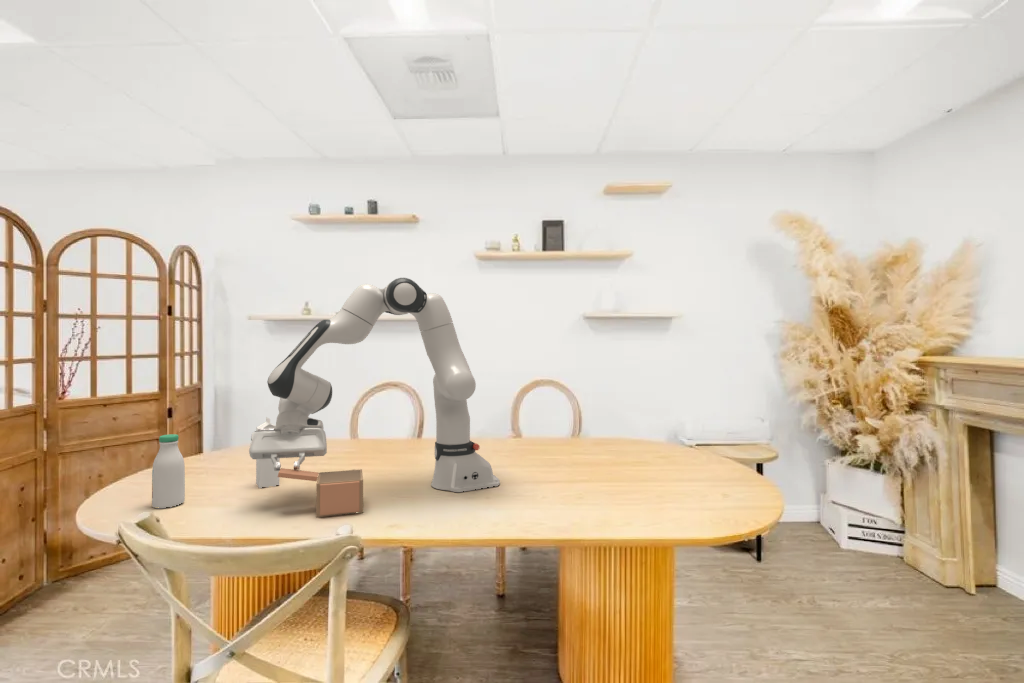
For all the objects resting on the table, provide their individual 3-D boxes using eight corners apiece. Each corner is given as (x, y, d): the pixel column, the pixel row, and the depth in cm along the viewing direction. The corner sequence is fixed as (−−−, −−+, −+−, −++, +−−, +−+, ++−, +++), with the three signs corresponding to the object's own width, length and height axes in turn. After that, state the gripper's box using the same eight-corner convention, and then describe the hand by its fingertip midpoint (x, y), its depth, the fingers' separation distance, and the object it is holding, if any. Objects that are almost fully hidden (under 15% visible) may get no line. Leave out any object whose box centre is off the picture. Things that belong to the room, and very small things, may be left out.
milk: (259, 489, 158) (259, 420, 157) (255, 484, 162) (255, 417, 162) (280, 485, 161) (279, 418, 161) (276, 481, 166) (275, 416, 166)
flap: (318, 472, 140) (280, 468, 137) (317, 477, 135) (278, 472, 132) (317, 476, 140) (280, 472, 137) (316, 481, 135) (277, 477, 132)
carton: (361, 499, 147) (362, 469, 147) (363, 513, 135) (363, 480, 135) (318, 503, 143) (318, 472, 143) (315, 518, 131) (316, 484, 131)
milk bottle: (191, 502, 144) (191, 433, 144) (164, 510, 137) (165, 438, 137) (172, 499, 147) (172, 432, 147) (145, 507, 139) (145, 436, 140)
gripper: (251, 422, 140) (243, 465, 131) (327, 420, 147) (325, 460, 137) (254, 435, 145) (246, 477, 135) (328, 433, 151) (325, 473, 142)
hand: (286, 469), depth 136 cm, fingers open, 3 cm apart
